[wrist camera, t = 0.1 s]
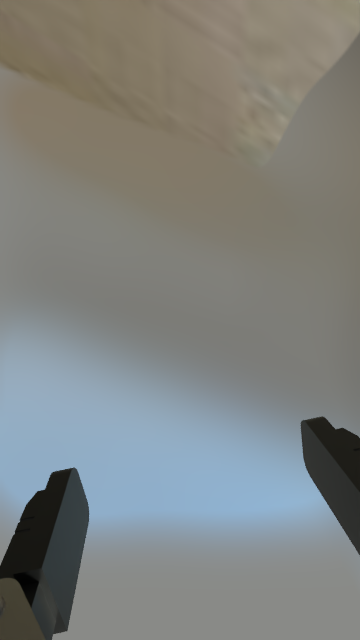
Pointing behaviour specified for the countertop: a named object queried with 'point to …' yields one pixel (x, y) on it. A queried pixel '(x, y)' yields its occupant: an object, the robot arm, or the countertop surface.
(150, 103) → the countertop surface
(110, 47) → the countertop surface
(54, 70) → the countertop surface
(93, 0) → the countertop surface
